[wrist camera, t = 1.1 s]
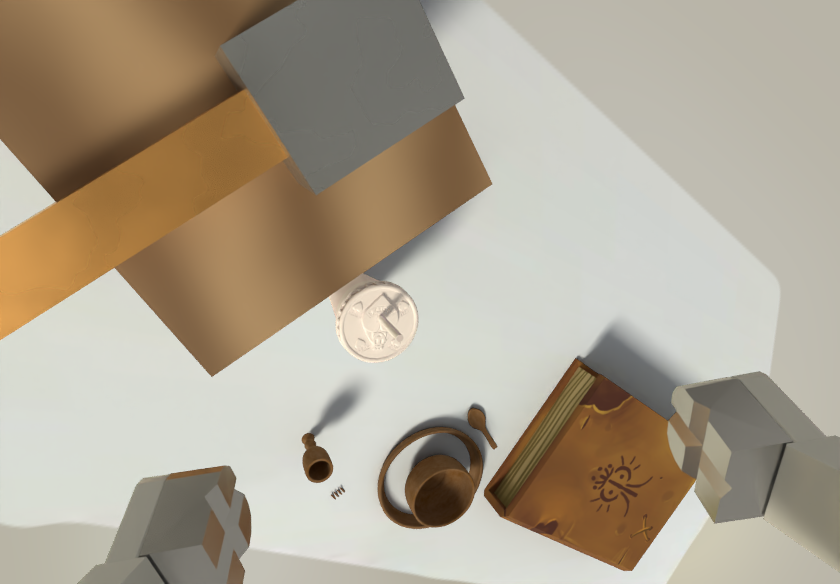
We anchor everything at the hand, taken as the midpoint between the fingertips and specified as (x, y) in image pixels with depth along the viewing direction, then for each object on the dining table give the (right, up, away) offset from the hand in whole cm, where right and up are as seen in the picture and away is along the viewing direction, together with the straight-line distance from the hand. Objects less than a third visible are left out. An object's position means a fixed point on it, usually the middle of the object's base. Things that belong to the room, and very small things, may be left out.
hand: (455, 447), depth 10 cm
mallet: (-10, +7, +9) cm, 15 cm away
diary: (+20, -18, +59) cm, 65 cm away
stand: (-16, +16, +33) cm, 40 cm away
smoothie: (-7, +3, +41) cm, 42 cm away
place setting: (-2, -14, +49) cm, 51 cm away
